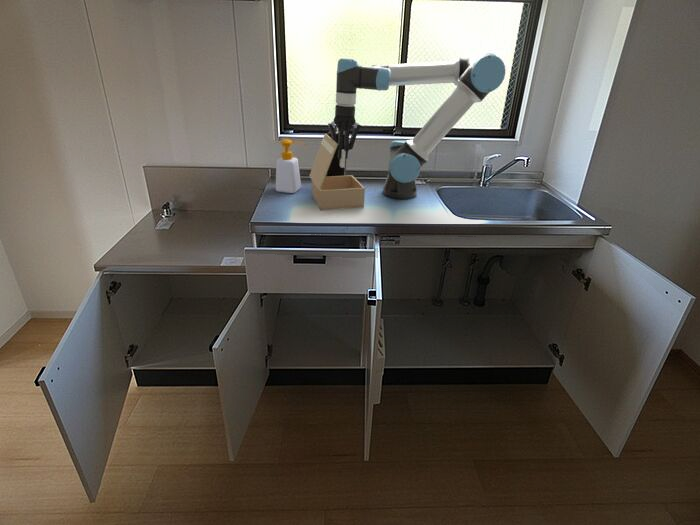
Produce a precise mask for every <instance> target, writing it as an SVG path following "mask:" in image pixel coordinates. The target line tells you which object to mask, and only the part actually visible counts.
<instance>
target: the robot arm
mask: <svg viewBox="0 0 700 525" xmlns="http://www.w3.org/2000/svg"><path fill="white" fill-rule="evenodd" d="M505 77H506V66H505V63H504V61H503V59H501V57H499V56H498V55H496V54H494V53H478V54H473V55H470V56H464V57H457V58H456V59H455V60H449V61H433V62H432V61H431V62H429V61H428V62H415V63H412V62H411V63H399V64H396V63H395V64H383V65H382V64H381V65H380V64H379V65H378V64H374V65H370V66H363V65H359V60H358V59H356V58H355V59H354V58H339V59H338V60H337V67H336V82H335V83H336V85H335V88H336V89H335V90H336V91H335V92H336V93H335V107H334V110H335V112H334V118H333V120H332V121H331V122H330V123H327V126H328V128H329V131H331V136H332V139H333V140H334V141H335V142H336V143H337V140H336V135H335V131H336V130H335V127H336V129H337V128H338V132H339V133H338V145H337V148H336V149H337V150H338V158H339V159H340V167H341V168H345V159H346V160H347V159H348V158H349V156H348V155H349V151H351V150H353V148H354V146H355V141H356V140H357V135H358V132H359V131H360V129H361V127H362V126H361V124H359V123H358V122H357V120H356V118H355V117H356V116H355V115H356V106H355V105H356V103H357V89H359V90H361V89H363V90H371V91H378V92H379V91H388V90H389V89H390V87H395V86H396V87H397V86H412V85H417V86H418V85H433V84H437V85H438V84H454V86H456V87H455V88H454V90H453V91H452V93H450V94H449V96H448V97H447V98H446V99H445V100H444V101H443V102H442V104H441V105H440V106H439V107H438V109H437V110H436V111H435V112H434V113H433V114H432V116H431V117H429V119H428V120H427V122H426V123H425V124H424V125H423V127H422V128H420V130H419V131H418V132H417V133H416V135H415V136H414V137H413V138H411V139H406V140H392V141H391V142H390V146H389V158H388V168H387V169H388V172H387V177H386V179H385V182H384V183H383V184H384V185H383V187H382V193H383V195H384V196H387V198H388V197H389V198H392V199H399V200H406V199H407V200H408V199H413V198H415V197H417V191H418V188H417V184H416V179H417V178H418V176H419V174H420V172H421V169H422V168H423V167H424V166H425V165H426V164H427V163H428V161H429V154H431V152H432V151H433V150H434V148H436V146H437V145H438V144H439V143H440V142H441V141H442V140H443V139H444V138H445V136H446V135H447V134H448V133H449V132H450V131H451V130H452V129H453V127H454V126H455V125H456V124H457V123H458V122H459V121H460V120H461V118H462V117H463V116H465V114H466V113H467V111H469V110H470V109H471V107H472V106H473V105H474V104H476V103H481V102H482V101H483V100H484V99H486V97H488V95H489V94H490V93H492V92H494V91H495V90H497V89H498V88H499V87H500V86H501V85H502V83H503V82H504V80H505ZM352 128H353V130H352V133H351V129H352ZM344 131H345V137H344V150H342V144H343V132H344ZM350 133H351V136H350Z"/></svg>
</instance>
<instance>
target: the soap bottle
mask: <svg viewBox="0 0 700 525" xmlns="http://www.w3.org/2000/svg"><path fill="white" fill-rule="evenodd" d="M279 143H280V144H281V146H282V147H283V148H284V151H281V157H280V158H278V159H277V160H276V163H275V164H276V165H275V166H276V167H275V191H276V192H279V193H286V194H287V193H289V194H296V193H297V192H298V191H299V190H300V189H301V188H302V183H301V182H302V180H301V173H300V167H299V166H300V165H299V159H298V158H297V157H295V156H294V157H293V151H290V149H289V148H290V147H292V144H298V145H303V146H307V144H306V143H303V142H300V141H299V142H298V141H292V140H290V139H288V138H284V139H282V140H281V141H280V142H279Z"/></svg>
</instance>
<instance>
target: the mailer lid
mask: <svg viewBox="0 0 700 525" xmlns="http://www.w3.org/2000/svg"><path fill="white" fill-rule="evenodd" d="M337 145H338V144H337V143H336V142H335V141H334V140H333V139H332V138H330V137H329V136H328V135H327V133H324V135H323V138H322V140H321V144H320V146H319V149H318V151H317V154H316V157H315V159H314V162H313V165H312V166H311V170H310V173H309V175H308V176H309V178H310V180H311V182H312V181H313V183H314V184H315V186H316V187H317V189H318V190H320V189H321V187H322V184H323V181H324V179H325V177H327V171H328V168H329V166H330V163H331V161H332V158H333V156H334V153H335V150H336V148H337Z"/></svg>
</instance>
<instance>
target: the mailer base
mask: <svg viewBox="0 0 700 525" xmlns="http://www.w3.org/2000/svg"><path fill="white" fill-rule="evenodd" d="M365 192H366V187H364V186H363V184H362V183H360V181H359V180H357V179H356V178H355V177H354V175H346V176H329V177H327V176H325V179H324V181H323V184H322V187H321V189H320V190H318V189H317V187H316V186H315V184H314V183H313V181H312V180H311V196H312V197H313V199H314V201H315V203H316V205H317V206H318V208H319V210H320V211H329V210H331V211H332V210H340V209H341V210H342V209H343V210H344V209H356V208H357V209H358V208H364V207H365V194H366V193H365Z"/></svg>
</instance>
